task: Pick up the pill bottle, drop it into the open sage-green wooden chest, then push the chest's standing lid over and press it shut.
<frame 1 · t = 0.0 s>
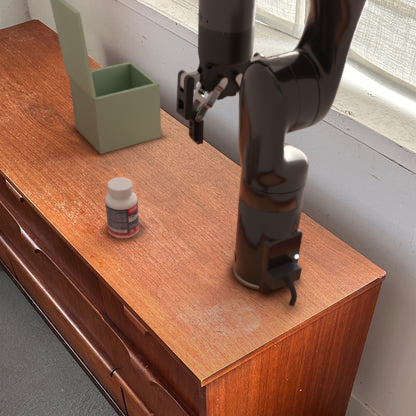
hand: (221, 135, 94), 17 cm above the dresser, tool pointing down, fingers open, 8 cm apart
chest: (118, 132, 128), on the dresser
pill bottle: (123, 230, 107), on the dresser
lid: (72, 45, 112), point 18 cm above the dresser, hinge at 95.0°
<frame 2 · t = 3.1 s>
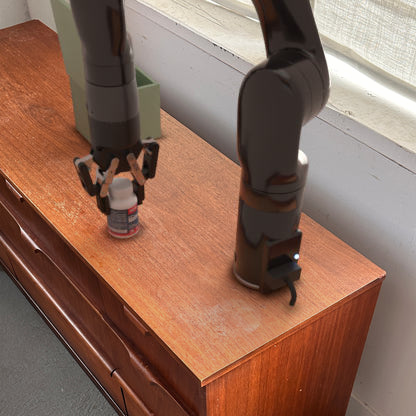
hand: (121, 207, 103), 4 cm above the dresser, tool pointing down, fingers closed on pill bottle, 5 cm apart
pill bottle: (123, 230, 107), on the dresser, touching gripper
everything else where it was.
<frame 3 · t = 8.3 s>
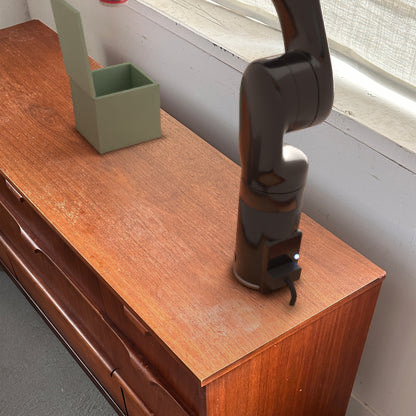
pill bottle: (114, 3, 109), point 24 cm above the dresser, touching gripper
everything else where it was.
when the fingers open (8 cm above the dresser, at t = 13.5 s): pill bottle drops 3 cm, resting on chest.
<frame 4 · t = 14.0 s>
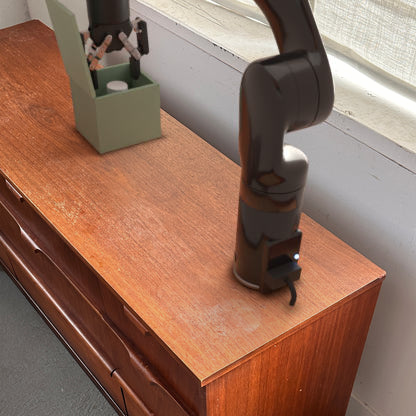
hand: (114, 83, 121), 10 cm above the dresser, tool pointing down, fingers open, 8 cm apart
pill bottle: (120, 129, 128), point 1 cm above the dresser, touching chest
lid: (70, 46, 111), point 18 cm above the dresser, hinge at 98.8°
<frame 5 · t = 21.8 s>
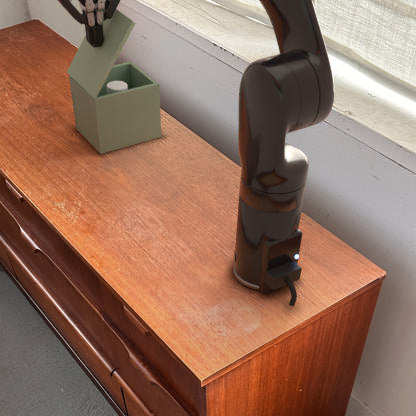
hand: (95, 45, 114), 18 cm above the dresser, tool pointing down, fingers closed
lid: (99, 48, 115), point 17 cm above the dresser, hinge at 51.4°, touching gripper
everything else where it was.
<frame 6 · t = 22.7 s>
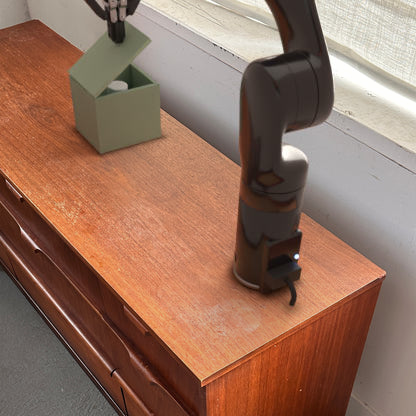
hand: (117, 41, 116), 17 cm above the dresser, tool pointing down, fingers closed
lid: (108, 56, 116), point 15 cm above the dresser, hinge at 32.8°, touching gripper
everything else where it was.
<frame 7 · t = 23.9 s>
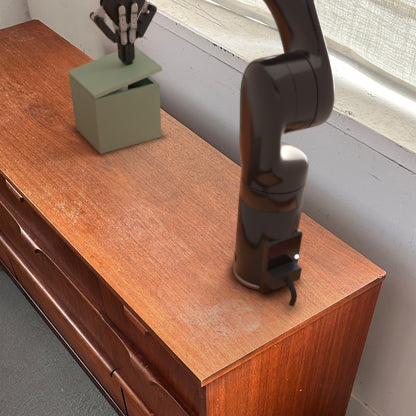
hand: (127, 62, 119), 13 cm above the dresser, tool pointing down, fingers closed
lid: (114, 70, 119), point 12 cm above the dresser, hinge at 9.0°, touching gripper
everything else where it was.
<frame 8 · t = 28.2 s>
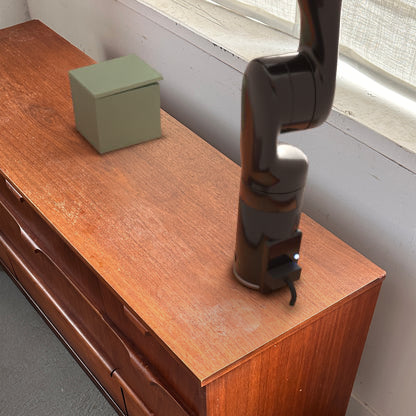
lid: (115, 75, 120), point 12 cm above the dresser, hinge at 2.0°
everything else where it was.
at the end: pill bottle inside the target area in the chest (0.5 cm from its centre), point 0.6 cm above the chest's base; lid at +2° (first picture: +95°) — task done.
